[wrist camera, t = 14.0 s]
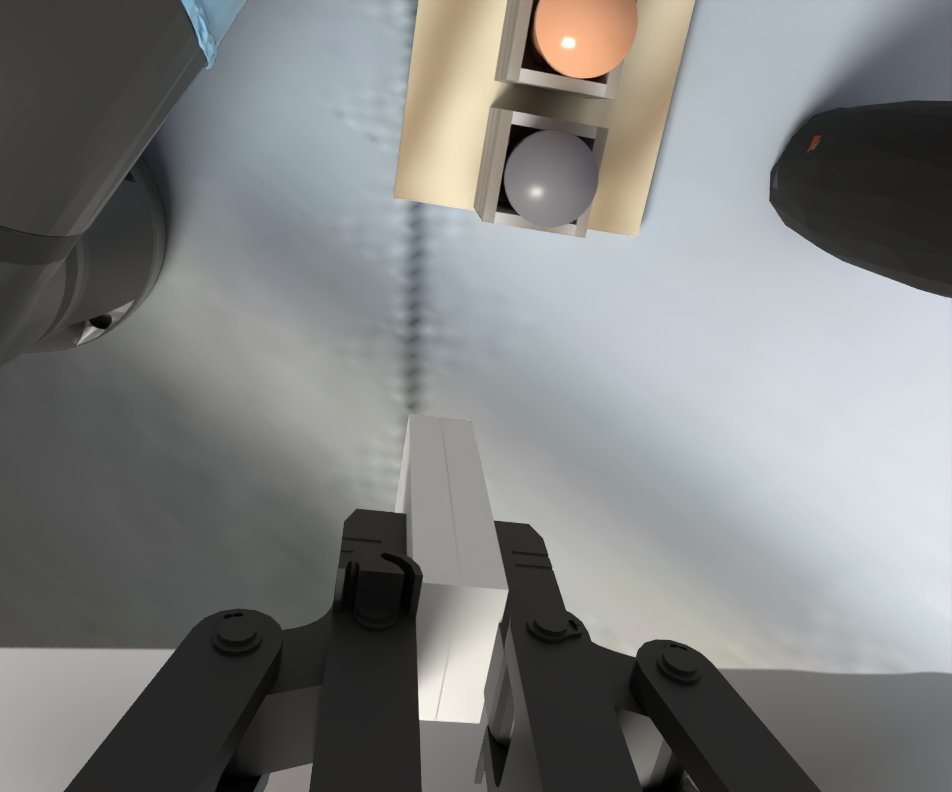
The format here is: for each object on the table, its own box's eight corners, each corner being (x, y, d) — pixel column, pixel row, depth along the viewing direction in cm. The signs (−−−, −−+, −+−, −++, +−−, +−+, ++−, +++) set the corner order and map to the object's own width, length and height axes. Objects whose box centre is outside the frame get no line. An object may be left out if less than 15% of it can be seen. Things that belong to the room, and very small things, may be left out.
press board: (393, 194, 45) (392, 211, 39) (444, -207, 38) (453, -266, 32) (631, 233, 47) (666, 254, 41) (722, -140, 40) (780, -182, 34)
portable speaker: (731, 164, 46) (944, 208, 28) (865, 66, 45) (1180, 45, 27) (793, 273, 49) (1022, 376, 31) (921, 184, 48) (1238, 238, 30)
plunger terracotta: (508, 72, 40) (527, 68, 34) (524, -24, 39) (548, -46, 32) (589, 87, 41) (624, 86, 35) (609, -6, 39) (648, -25, 33)
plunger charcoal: (484, 201, 44) (498, 219, 37) (498, 118, 42) (515, 123, 36) (560, 213, 44) (587, 234, 38) (577, 132, 43) (607, 139, 36)
